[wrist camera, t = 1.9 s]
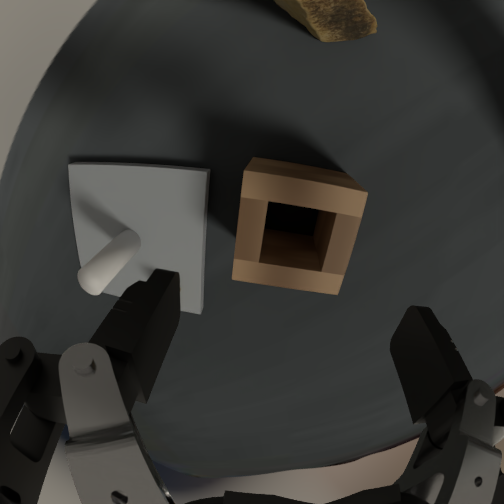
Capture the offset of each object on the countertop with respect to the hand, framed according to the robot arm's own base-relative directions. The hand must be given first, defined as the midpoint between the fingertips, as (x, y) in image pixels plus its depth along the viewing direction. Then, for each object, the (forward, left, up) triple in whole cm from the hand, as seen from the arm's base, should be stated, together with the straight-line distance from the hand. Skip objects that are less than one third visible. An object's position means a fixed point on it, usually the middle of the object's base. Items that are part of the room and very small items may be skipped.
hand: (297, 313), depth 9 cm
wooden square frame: (0, 0, -11) cm, 11 cm away
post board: (+12, +4, -11) cm, 17 cm away
